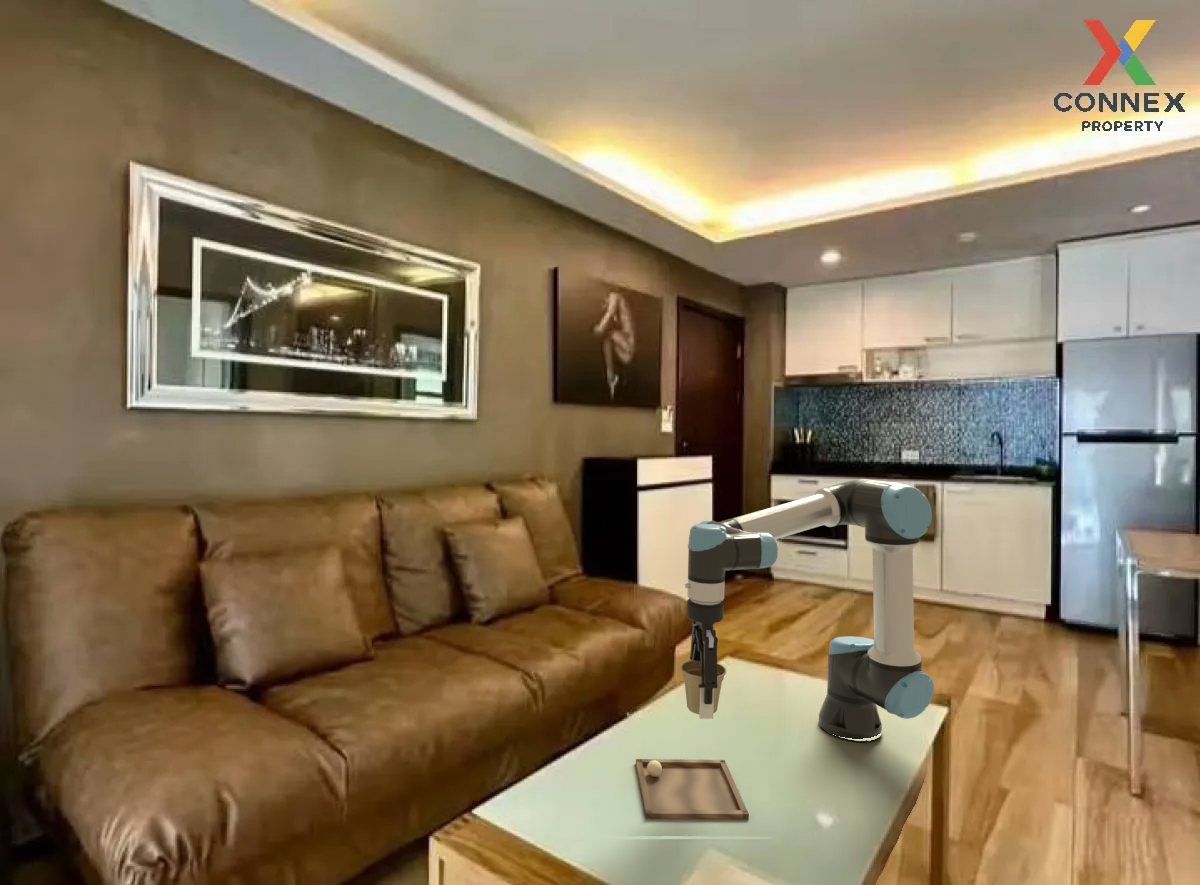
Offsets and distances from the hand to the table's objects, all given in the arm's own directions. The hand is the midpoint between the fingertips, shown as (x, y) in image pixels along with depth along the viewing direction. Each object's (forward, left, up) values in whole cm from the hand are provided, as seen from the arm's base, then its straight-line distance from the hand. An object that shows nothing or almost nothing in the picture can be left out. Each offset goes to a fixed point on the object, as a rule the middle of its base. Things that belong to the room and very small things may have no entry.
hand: (701, 707), depth 135 cm
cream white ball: (+9, -5, -17) cm, 20 cm away
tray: (+2, 0, -18) cm, 18 cm away
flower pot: (0, 0, -1) cm, 1 cm away
